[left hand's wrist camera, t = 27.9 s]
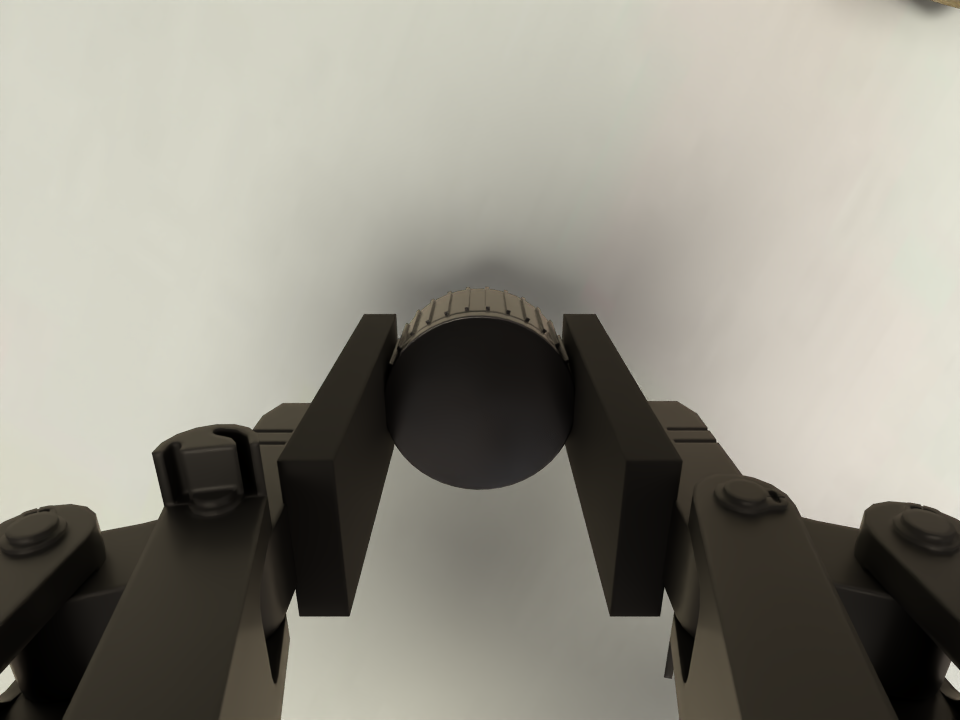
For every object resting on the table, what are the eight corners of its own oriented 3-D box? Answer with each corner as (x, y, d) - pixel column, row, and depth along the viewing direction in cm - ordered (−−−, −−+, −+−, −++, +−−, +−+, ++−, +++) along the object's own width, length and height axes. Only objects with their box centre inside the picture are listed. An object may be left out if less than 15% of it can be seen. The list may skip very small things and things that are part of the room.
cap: (483, 247, 13) (483, 269, 11) (600, 372, 14) (619, 411, 12) (358, 365, 14) (338, 404, 12) (476, 473, 15) (476, 524, 13)
